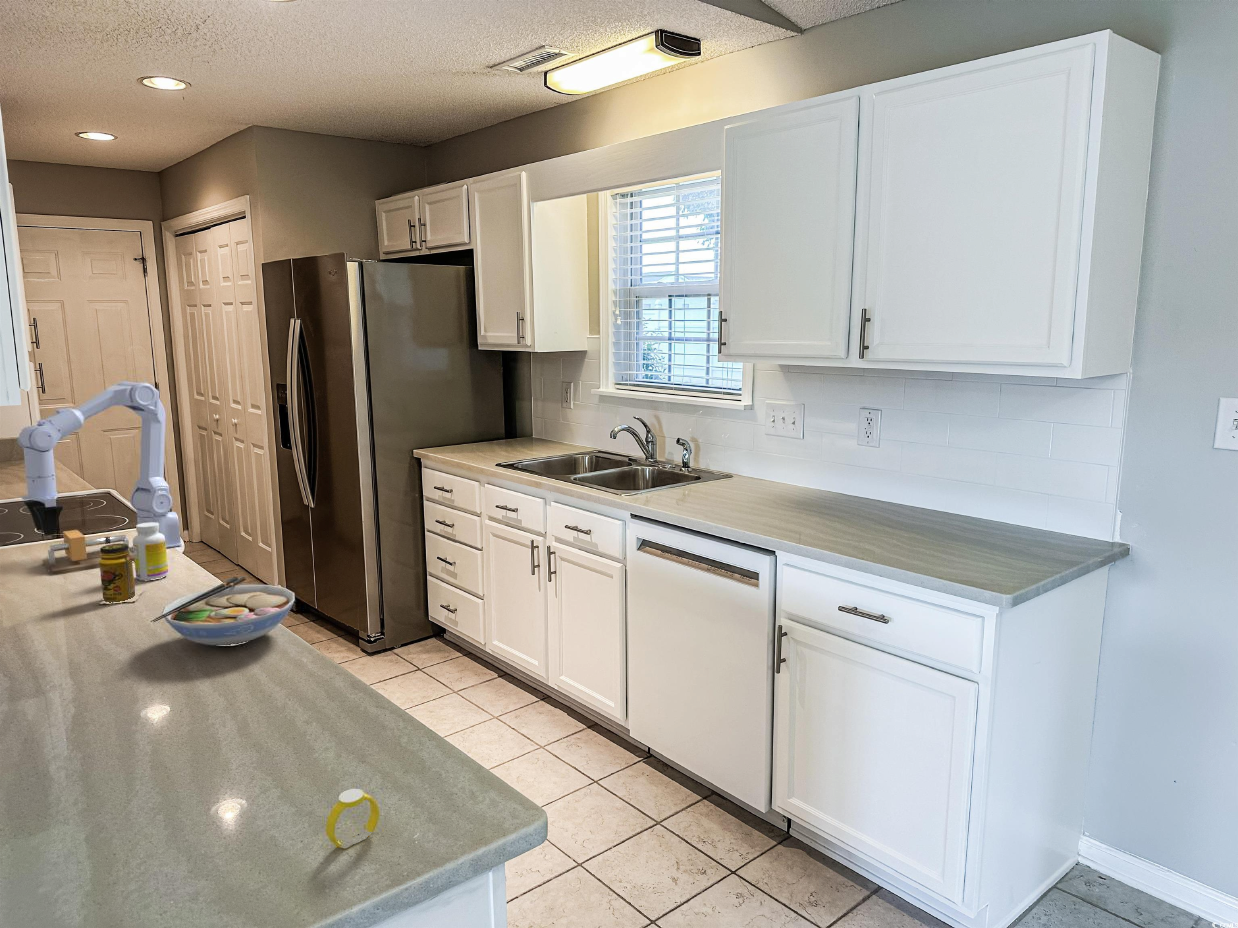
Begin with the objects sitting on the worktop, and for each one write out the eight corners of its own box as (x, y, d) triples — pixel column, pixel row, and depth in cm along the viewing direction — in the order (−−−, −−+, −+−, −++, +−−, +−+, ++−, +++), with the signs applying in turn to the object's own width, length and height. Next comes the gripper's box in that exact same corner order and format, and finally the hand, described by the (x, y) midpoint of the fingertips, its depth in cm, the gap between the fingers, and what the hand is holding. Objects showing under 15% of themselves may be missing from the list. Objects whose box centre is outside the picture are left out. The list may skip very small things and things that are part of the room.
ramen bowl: (245, 671, 144) (242, 626, 143) (130, 660, 148) (126, 616, 147) (324, 622, 168) (322, 583, 167) (223, 613, 173) (220, 575, 171)
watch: (337, 859, 94) (331, 812, 93) (325, 849, 96) (319, 803, 95) (384, 833, 98) (379, 788, 97) (372, 823, 100) (366, 779, 99)
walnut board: (125, 550, 220) (125, 547, 219) (138, 561, 210) (137, 557, 210) (43, 563, 208) (42, 559, 207) (52, 575, 198) (52, 571, 198)
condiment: (96, 606, 177) (91, 551, 175) (107, 593, 185) (102, 541, 183) (135, 602, 179) (130, 548, 177) (144, 591, 187) (140, 538, 185)
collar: (79, 551, 211) (77, 529, 210) (87, 558, 204) (84, 536, 203) (65, 553, 209) (62, 531, 208) (72, 561, 202) (70, 538, 201)
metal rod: (128, 551, 215) (126, 533, 214) (129, 553, 214) (128, 534, 213) (49, 564, 204) (47, 544, 203) (50, 565, 202) (48, 545, 202)
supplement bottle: (174, 574, 200) (170, 521, 198) (156, 582, 193) (152, 528, 191) (148, 573, 200) (143, 520, 198) (129, 581, 194) (124, 527, 192)
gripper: (13, 474, 200) (18, 529, 203) (28, 482, 191) (33, 540, 193) (48, 471, 206) (53, 525, 208) (64, 478, 196) (69, 535, 198)
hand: (46, 532), depth 200 cm, fingers open, 7 cm apart
